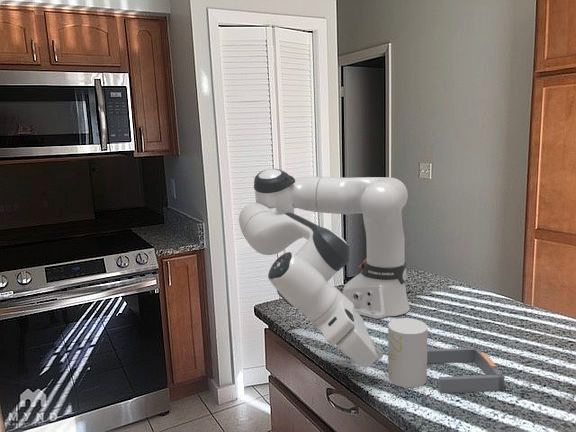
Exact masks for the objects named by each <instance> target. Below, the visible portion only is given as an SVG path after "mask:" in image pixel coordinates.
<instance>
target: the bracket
mask: <svg viewBox="0 0 576 432" xmlns="http://www.w3.org/2000/svg"><path fill="white" fill-rule="evenodd" d="M472 362H474V363H475V364H476V365H477V366H478V367H479V369H480V370H481V372H482V373H484V375H478V374H477V375H460V376H456V375H455V376H439V377H438V392H439V394H451V393H453V394H454V393H455V394H456V393H477V392H478V393H479V392H482V393H483V392H500V391H501V392H502V391H503V392H504V391H505V379H506V378H505V375H503V373H501V371H500V370H499V369H498V368H497V364H495V362H494V361H492V359H491V358H490V357H489V355H487V353H485V352H483V351H482V350H481V349H480V348H479V347H456V348H452V347H451V348H433V349H428V348H427V365H429V364H449V363H450V364H452V363H472Z"/></svg>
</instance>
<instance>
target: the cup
mask: <svg viewBox="0 0 576 432" xmlns="http://www.w3.org/2000/svg"><path fill="white" fill-rule="evenodd" d="M428 331H429V329H428V325H427V323H425V321H422V320H419V319H416V318H410V317H403V318H402V317H401V318H400V317H399V318H395V319H392V320H390V321H389V322H388V324H387V334H388V335H387V339H388V340H387V344H388V345H387V347H388V348H387V356H388V357H387V363H388V365H387V367H388V368H387V370H388V371H387V373H388V374H387V377H388V380H389V381H390V382H391V383H392V384H394V385H396V386H398V387H402V388H407V389H415V388H419V387H423V386H424V385H425V384H427V381H428V378H427V377H428V364H427V349H428V333H429V332H428Z"/></svg>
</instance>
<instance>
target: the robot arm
mask: <svg viewBox="0 0 576 432" xmlns="http://www.w3.org/2000/svg"><path fill="white" fill-rule="evenodd" d="M253 189H254V191H255V192H254V193H255V194H254V195H255V202H252V203H249V204H247V205H245V206H243V208H242V209H241V211H240V213H239V215H238V223H239V227H240V230H241V233H242V236H243V237H244V238H245V240H246V242H247V243H248V245H249V246H250V248H252V249H253V250H254V251H256V253H259V254H260V255H263V256H264V255H265V256H274V255H277V254H279V253H281V252H283V251H284V250H286V249H287V248H288V247H289V246H291V245H292V244H294V243H295V242H296V241H298V240H300V239H306V240H307V241H306V242H305V243H304V244H303V245H302V246H301V247H300V249H299V250H298V251H297V252H296V253H294V252H291V251H287V252H285V253H283V254H281V255H280V256H279V257H278V258H276V259H275V261H274V262H273V263H272V264H271V267H270V269H269V271H268V275H267V277H268V281H269V282H270V283H271V285H272V286H273V287H274V288H275V290H276V293H277V294H278V295H279V297H280V298H281V299H283V301H285V302H286V303H287V304H288V305H289V306H290V307H291V308H295V309H298V310H299V311H301V312H302V313H303V315H304V316H305V317H306V319H308V320H309V322H311V323H312V324H313V325H314V326H315V327H316V328H317V330H318V331H320V333H321V334H322V336H323V338H324V339H325V342H327V343H328V344H329V345H330V346H332V347H334V346H336V347H337V348H338V350H339V351H341V352H342V353H343V354H344V355H345V356H346V357H348V358H349V359H351V360H352V361H353V362H354V363H356V364H357V365H358V366H360V367H361V368H364V369H367V368H369V367H370V366H371V365H373V363H375V361H376V360H377V361H380V360H381V359H382V358H383V357H384V354H383V352H382V349H381V347H380V346H378V345H377V344H376V342H375V340H373V339H372V337H371V336H370V334H369V331H368V329H367V327H366V324H365V322H364V321H365V320H364V318H363V317H362V316H364V317H368V318H372V319H378V320H379V319H383V318H386V317H396V316H401V315H404V314H406V313H408V312H409V311H410V309H411V306H410V304H409V300H408V299H409V298H408V296H407V295H408V294H407V289H406V280H407V263H406V261H405V254H406V253H405V251H406V250H405V245H406V244H405V240H406V239H405V238H406V237H405V234H404V233H405V232H404V227H403V225H404V224H403V215H402V212H403V209H404V207H405V205H407V203H408V202H407V201H408V198H409V195H408V194H409V192H408V189H407V187H406V185H405V184H404V183H403V181H401V180H400V179H397V178H395V177H387V176H386V177H380V176H378V177H376V176H374V177H371V176H367V177H365V176H364V177H336V176H305V177H298V178H294V176H292V175H290V174H288V173H287V172H286V171H284V170H282V169H278V168H269V169H264V170H261V171H259V173H257V174H256V175H255V177H254V180H253ZM295 209H299V210H304V211H308V212H313V213H320V214H321V213H324V214H334V215H335V214H338V215H355V214H356V215H357V214H362V218H363V225H364V230H365V239H366V240H365V241H366V258H365V259H364V260H363V262H361V263H360V265H359V266H358V267H359V268H358V270H359V271H360V273H359V274H358V273H357V275H355V276H354V277H352V278H351V279H350V280H349V281H347V282H346V283H345V285H344V287H343V289H342V292H341V291H340V290H339V289H338V288H337V287H335V286H333V285H332V284H330V283H328V282H329V281H330V280H331V279H333V277H334V276H335V275H337V272H339V271H341V269H342V268H344V267H345V266H346V265H347V264H348V263H349V261H350V251H351V250H350V246H349V245H348V243H347V242H346V240H345V239H344V238H343V237H342V236H341V235H339V234H338V233H336V232H335V231H333V230H330V229H328V228H325V227H324V226H323V227H322V226H320V225H318V224H316V223H314V222H312V221H311V220H308V219H306V218H305V217H302V216H300V215H298V214H296V213H295Z"/></svg>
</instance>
